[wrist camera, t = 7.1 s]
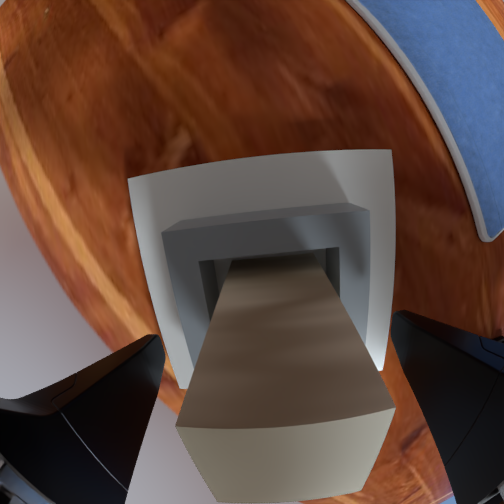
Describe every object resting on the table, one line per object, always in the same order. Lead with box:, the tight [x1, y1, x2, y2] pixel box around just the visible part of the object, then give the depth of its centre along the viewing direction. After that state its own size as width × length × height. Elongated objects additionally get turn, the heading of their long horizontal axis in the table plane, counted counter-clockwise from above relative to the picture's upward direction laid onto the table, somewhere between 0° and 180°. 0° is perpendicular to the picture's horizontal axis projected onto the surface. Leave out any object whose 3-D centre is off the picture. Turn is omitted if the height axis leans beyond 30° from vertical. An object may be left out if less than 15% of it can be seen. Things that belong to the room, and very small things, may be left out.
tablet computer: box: [345, 0, 504, 242], centre depth 10 cm, size 19×13×1 cm, turn 34°
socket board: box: [128, 149, 396, 389], centre depth 12 cm, size 12×12×4 cm
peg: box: [175, 253, 396, 503], centre depth 8 cm, size 4×4×9 cm
